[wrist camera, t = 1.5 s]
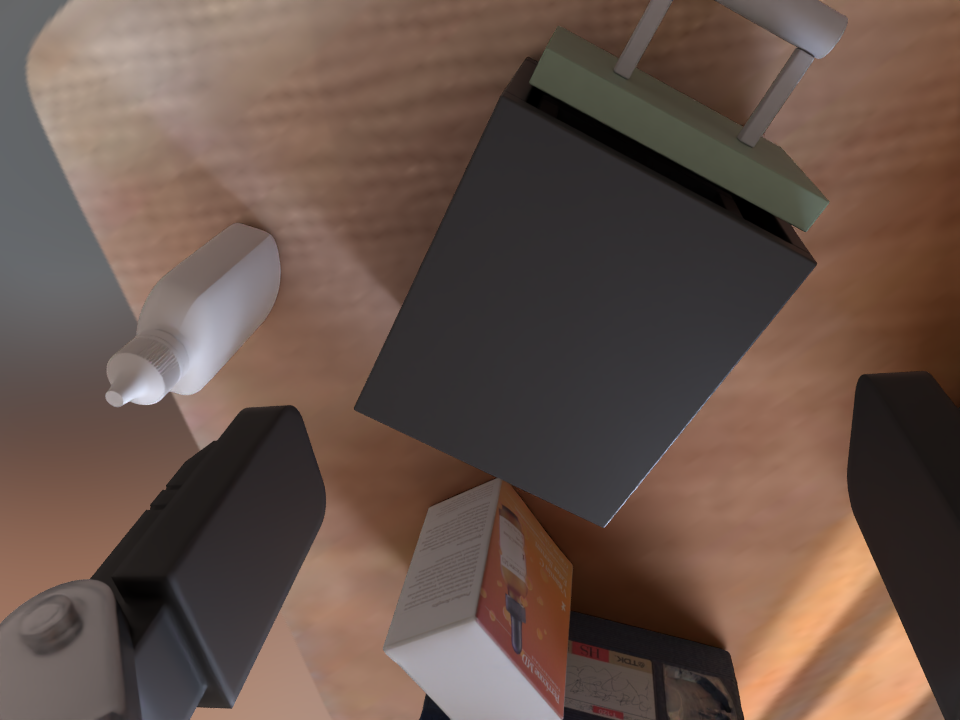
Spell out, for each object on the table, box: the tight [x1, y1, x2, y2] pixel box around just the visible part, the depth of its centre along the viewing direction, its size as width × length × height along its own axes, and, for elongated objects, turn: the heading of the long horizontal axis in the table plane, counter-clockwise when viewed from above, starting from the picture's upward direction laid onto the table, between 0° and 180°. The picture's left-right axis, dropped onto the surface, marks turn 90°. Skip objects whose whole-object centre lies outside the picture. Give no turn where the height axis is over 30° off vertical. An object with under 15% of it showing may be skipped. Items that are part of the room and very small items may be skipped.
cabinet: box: [354, 57, 817, 528], centre depth 30 cm, size 14×12×9 cm
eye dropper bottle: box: [106, 223, 281, 407], centre depth 32 cm, size 4×6×12 cm
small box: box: [383, 478, 573, 720], centre depth 39 cm, size 8×6×10 cm
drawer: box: [529, 0, 848, 232], centre depth 28 cm, size 17×10×7 cm, turn 154°
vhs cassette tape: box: [419, 611, 744, 720], centre depth 42 cm, size 18×3×10 cm, turn 78°
